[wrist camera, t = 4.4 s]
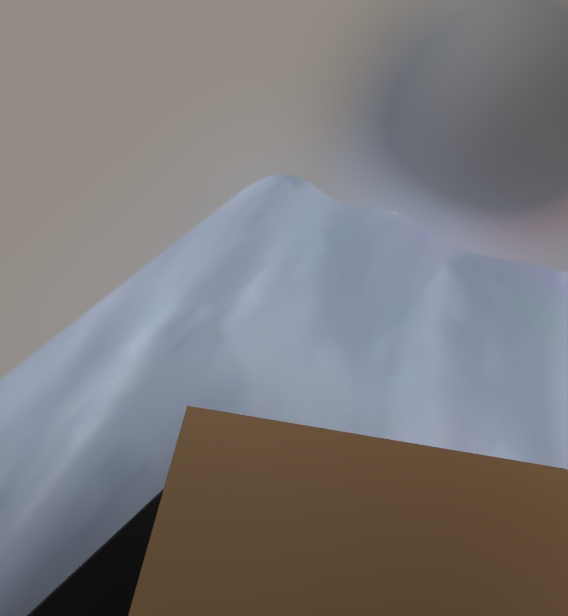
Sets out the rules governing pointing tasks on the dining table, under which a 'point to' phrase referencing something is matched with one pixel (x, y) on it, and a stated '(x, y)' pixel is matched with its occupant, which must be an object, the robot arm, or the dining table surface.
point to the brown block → (349, 527)
